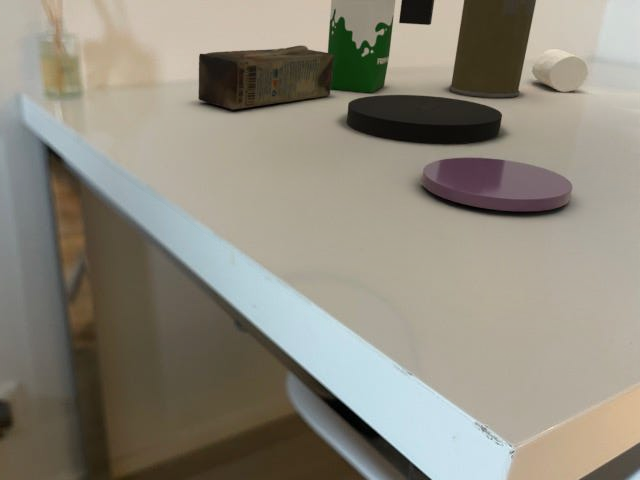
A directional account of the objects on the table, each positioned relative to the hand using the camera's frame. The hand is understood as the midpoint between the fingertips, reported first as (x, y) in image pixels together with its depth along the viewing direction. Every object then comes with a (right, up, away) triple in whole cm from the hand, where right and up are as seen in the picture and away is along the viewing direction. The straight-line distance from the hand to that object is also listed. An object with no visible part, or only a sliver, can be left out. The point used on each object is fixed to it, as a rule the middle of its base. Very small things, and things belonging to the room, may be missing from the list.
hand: (415, 23), depth 60 cm
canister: (+21, +6, +42) cm, 47 cm away
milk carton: (+1, +7, +43) cm, 43 cm away
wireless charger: (+5, -5, +19) cm, 20 cm away
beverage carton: (-13, +2, +32) cm, 34 cm away
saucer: (+6, -16, -4) cm, 17 cm away
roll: (+34, +9, +49) cm, 61 cm away
